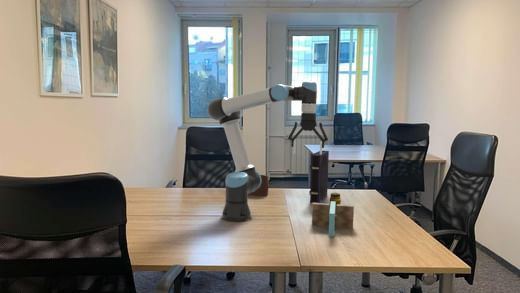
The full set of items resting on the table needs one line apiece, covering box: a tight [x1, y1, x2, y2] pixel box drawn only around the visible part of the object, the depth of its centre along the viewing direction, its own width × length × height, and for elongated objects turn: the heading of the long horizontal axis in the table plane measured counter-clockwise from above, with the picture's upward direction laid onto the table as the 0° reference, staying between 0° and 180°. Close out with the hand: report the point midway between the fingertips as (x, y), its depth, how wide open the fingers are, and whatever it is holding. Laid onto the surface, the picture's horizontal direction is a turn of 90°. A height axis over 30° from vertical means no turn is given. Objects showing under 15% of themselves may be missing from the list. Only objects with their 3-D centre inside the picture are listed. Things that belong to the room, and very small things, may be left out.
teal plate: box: [328, 201, 336, 238], centre depth 184 cm, size 20×2×11 cm, turn 168°
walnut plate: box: [311, 202, 355, 229], centre depth 190 cm, size 20×2×11 cm, turn 78°
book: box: [308, 150, 330, 203], centre depth 244 cm, size 24×6×30 cm, turn 157°
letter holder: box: [248, 174, 269, 196], centre depth 257 cm, size 10×20×14 cm, turn 86°
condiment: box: [328, 192, 342, 215], centre depth 209 cm, size 7×8×12 cm
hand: (307, 153), depth 197 cm, fingers open, 13 cm apart
